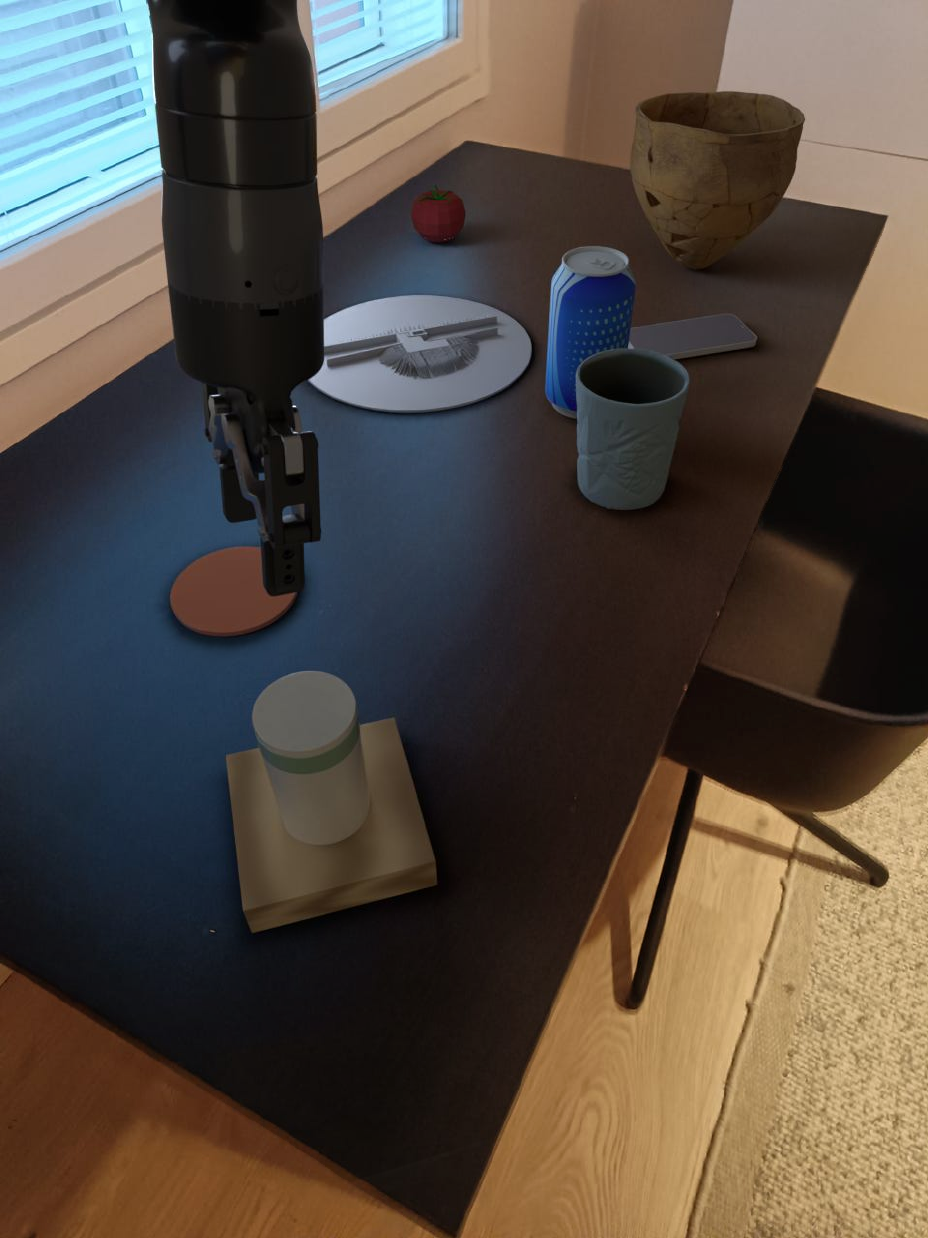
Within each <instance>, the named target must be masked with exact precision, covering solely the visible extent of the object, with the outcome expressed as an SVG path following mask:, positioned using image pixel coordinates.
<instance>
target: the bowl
mask: <svg viewBox="0 0 928 1238" xmlns="http://www.w3.org/2000/svg"><path fill="white" fill-rule="evenodd" d="M635 117H636V118H635V125H634V135H633V139H632V140H633V141H632V146H631V150H630V161H629V167H630V169H629V170H630V175H631V180H632V183H633V184H632V185H633V188H634V192H635V195H636V198H637V200H638V202H639V204H640V207H641V209H642V212H643V213H644V215H645V217H646V219H647V220H648V223H649V224H650V226H651V227H652V229H653V231H654V232H655V234H656V235H657V237H658V238H659V241H660V243H661V245H662V246H663V248H664V249H665V250H666V251H667V253H668V254H669V255H670V256H671V258H673V260H674V261H675V262H677V263H678V264H680V265H681V266H683V267H685V268H686V269H690V270H694V271H695V270H700V269H701V270H702V269H706V268H708V267H709V266H711V265H713V264H714V263H715V262H718V261H719V260H721V259H722V258H723V257H724V256H726V255H727V254H729V253H730V252H731V251H733V249H734V248H736V247H737V246H738V245H739V244H740V243H742V242H743V241H744V240H745V239H747V238H748V237H749V236H750V235H751V234H752V233H753V232H754V231H755V230H756V229H758V228H759V227H760V226H761V225H762V224H763V223H764V222H766V220H768V218H769V217H770V216H771V215H772V214H773V213H774V212H775V210H776V209H777V208H778V206H779V204H780V203H781V201H782V199H783V198H784V196H785V194H786V192H787V190H788V189H789V186H790V184H791V183H792V180H793V177H794V175H795V173H796V168H797V161H798V148H799V145H800V142H801V138H802V134H803V130H804V124H805V121H806V117H805V114H804V113H803V112H802V111H801V109H800V108H798V107H795V105H792V103H790V102H788V101H786V99H785V100H784V99H783V98H781V97H778V96H775V95H772V94H766V93H758V92H757V93H756V92H745V91H734V90H730V91H729V90H725V91H723V90H721V91H710V92H695V91H694V92H692V91H690V92H689V91H688V92H673V93H672V92H670V93H663V94H659V95H656V96H655V95H654V96H652V97H650V98H647V99H644V100H643V101H640V102H639V103H638V104H637V106H636V107H635Z"/></svg>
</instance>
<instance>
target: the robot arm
mask: <svg viewBox="0 0 928 1238" xmlns="http://www.w3.org/2000/svg"><path fill="white" fill-rule="evenodd" d="M146 2H147V6H148V12H149V18H150V25H151V26H150V27H151V45H152V46H151V50H152V51H151V52H152V53H151V54H152V88H153V89H152V90H153V100H154V110H155V119H156V129H157V139H158V149H159V157H160V158H159V159H160V167H161V179H162V180H161V185H162V186H161V229H162V230H161V231H162V241H163V250H164V261H165V269H166V279H167V288H168V299H169V306H170V307H169V308H170V316H171V324H172V334H173V344H174V345H173V346H174V353H175V355H174V356H175V360H176V363H177V364H178V365H177V366H178V367H179V368H180V369H181V371H182V372H183V373H184V374H186V375H187V376H189V377H190V378H191V379H193V380H195V381H197V382H200V383H201V387H202V402H203V403H202V404H203V414H204V426H205V427H204V429H203V430H204V431H203V432H204V435H205V436H204V437H206V438H207V441H208V442H209V443H212V446H213V450H212V456H213V459H214V460H215V463H216V464H217V465H219V466H218V467H219V477H220V478H219V480H220V490H221V492H220V493H221V502H222V513H223V515H224V517H225V519H226V520H227V522H229V523H231V524H236V523H241V522H242V523H243V522H248V521H254V520H255V521H257V526H258V527H257V531H258V534H259V539H260V548H261V558H262V575H263V586H264V588H265V590H266V592H267V593H268V595H270V596H280V595H285V594H290V593H295V592H300V591H302V590H303V589H304V588H305V585H306V578H305V577H306V575H305V574H306V573H305V572H306V571H305V544H308V543H316V542H320V541H321V538H322V528H321V526H322V525H321V501H320V499H321V498H320V471H319V439H318V438H317V436H316V434H315V432H314V431H313V430H308V431H307V430H306V431H303V429H304V428H303V425H302V420H301V419H302V418H301V415H300V411H299V409H298V407H297V406H296V405H294V404H293V400H292V398H291V395H292V392H293V391H294V390H295V389H296V387H298V386H299V385H301V384H302V383H304V382H305V381H307V380H309V379H311V378H312V377H313V376H315V375H316V374H317V373H318V372H319V371H320V369H321V368H322V366H323V363H324V320H325V308H324V307H325V303H324V302H325V295H324V294H325V293H324V291H325V289H324V288H325V286H324V285H325V284H324V226H323V219H322V218H323V217H322V210H321V203H320V196H319V184H318V183H319V181H318V177H317V175H318V117H317V115H318V114H317V90H316V87H317V86H316V78H315V77H316V76H315V70H314V64H313V59H312V55H311V52H310V49H309V46H308V45H307V42H306V40H305V37H304V35H303V33H302V30H301V26H300V23H299V15H298V0H146ZM260 474H263V475H264V480H263V479H262V480H261V479H260ZM287 507H290V509H291V514H287V515H283V512H284V509H285V508H287Z"/></svg>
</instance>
